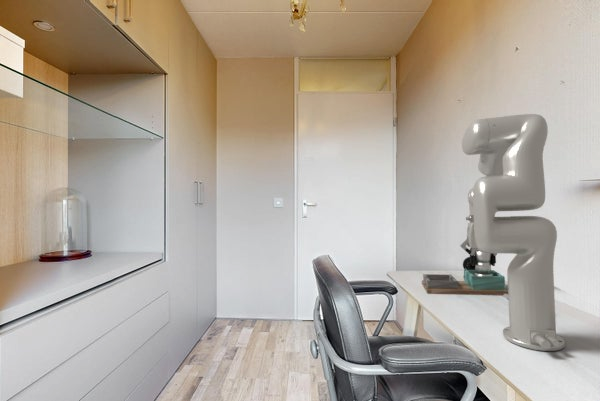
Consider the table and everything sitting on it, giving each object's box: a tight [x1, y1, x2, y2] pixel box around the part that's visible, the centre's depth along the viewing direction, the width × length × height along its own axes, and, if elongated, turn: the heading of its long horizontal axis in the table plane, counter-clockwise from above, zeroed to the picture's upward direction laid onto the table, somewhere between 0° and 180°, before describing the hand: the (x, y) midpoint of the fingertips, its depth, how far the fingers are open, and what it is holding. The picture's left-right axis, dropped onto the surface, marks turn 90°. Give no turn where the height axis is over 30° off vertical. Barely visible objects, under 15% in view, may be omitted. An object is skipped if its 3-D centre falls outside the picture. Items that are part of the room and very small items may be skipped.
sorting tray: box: [421, 269, 508, 296], centre depth 124 cm, size 14×28×6 cm, turn 77°
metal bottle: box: [474, 249, 492, 276], centre depth 122 cm, size 6×7×20 cm
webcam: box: [462, 256, 475, 271], centre depth 139 cm, size 8×8×10 cm
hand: (482, 264), depth 122 cm, fingers closed on metal bottle, 6 cm apart
